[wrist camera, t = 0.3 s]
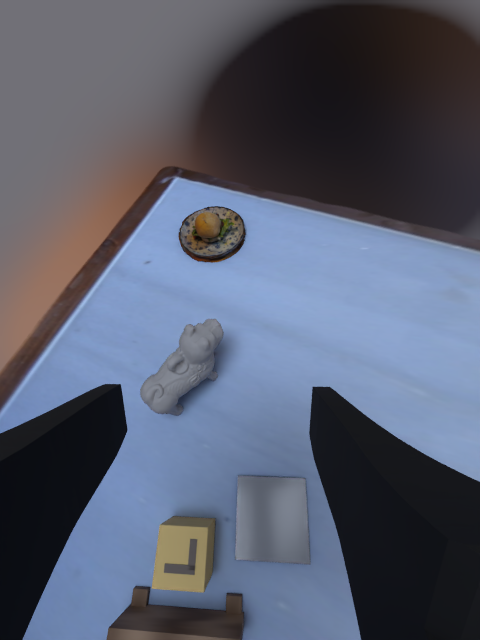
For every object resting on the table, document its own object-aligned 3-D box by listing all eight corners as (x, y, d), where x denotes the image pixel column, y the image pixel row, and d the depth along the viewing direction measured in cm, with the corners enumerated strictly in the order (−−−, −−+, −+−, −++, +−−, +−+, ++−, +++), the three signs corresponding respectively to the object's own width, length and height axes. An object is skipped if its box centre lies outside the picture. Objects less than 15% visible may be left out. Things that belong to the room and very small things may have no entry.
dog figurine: (238, 357, 42) (231, 326, 32) (172, 425, 38) (142, 414, 29) (213, 335, 44) (198, 299, 34) (148, 398, 40) (112, 379, 31)
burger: (255, 222, 53) (254, 188, 46) (229, 271, 49) (223, 242, 42) (198, 207, 56) (189, 172, 49) (168, 252, 52) (154, 221, 45)
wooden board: (244, 594, 30) (240, 618, 26) (243, 647, 29) (238, 682, 24) (134, 586, 31) (112, 607, 27) (126, 636, 30) (101, 668, 25)
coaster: (309, 562, 31) (310, 564, 30) (235, 557, 32) (235, 559, 31) (304, 478, 34) (305, 478, 34) (238, 475, 35) (237, 475, 35)
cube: (212, 573, 31) (203, 592, 27) (167, 570, 32) (151, 589, 27) (215, 518, 34) (207, 527, 29) (173, 516, 34) (159, 525, 29)
